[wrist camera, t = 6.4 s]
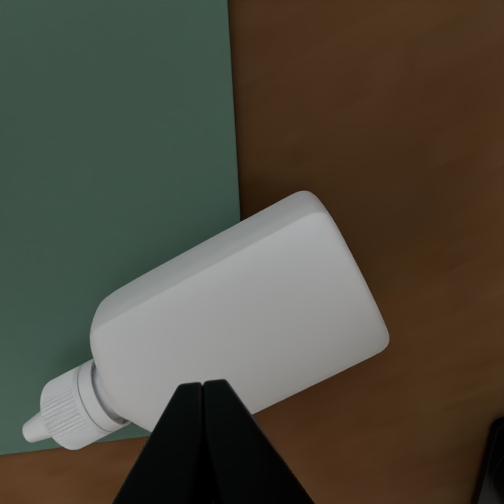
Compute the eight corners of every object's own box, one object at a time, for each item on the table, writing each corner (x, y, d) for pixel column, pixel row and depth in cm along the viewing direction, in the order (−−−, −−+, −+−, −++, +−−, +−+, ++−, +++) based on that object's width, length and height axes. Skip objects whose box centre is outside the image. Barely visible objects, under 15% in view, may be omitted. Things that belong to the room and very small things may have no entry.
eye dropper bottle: (341, 255, 18) (76, 391, 20) (302, 164, 14) (-39, 349, 15) (398, 355, 16) (90, 504, 17) (374, 284, 11) (-43, 495, 13)
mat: (252, 417, 20) (252, 422, 20) (-81, 460, 19) (-84, 466, 18) (211, -242, 11) (212, -248, 10) (-448, -239, 9) (-466, -246, 9)
